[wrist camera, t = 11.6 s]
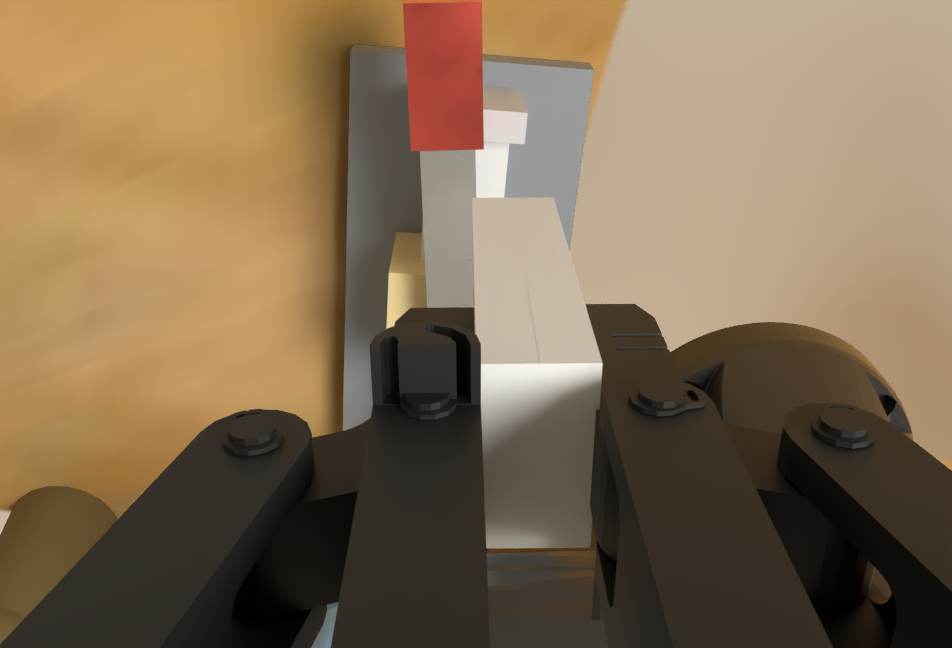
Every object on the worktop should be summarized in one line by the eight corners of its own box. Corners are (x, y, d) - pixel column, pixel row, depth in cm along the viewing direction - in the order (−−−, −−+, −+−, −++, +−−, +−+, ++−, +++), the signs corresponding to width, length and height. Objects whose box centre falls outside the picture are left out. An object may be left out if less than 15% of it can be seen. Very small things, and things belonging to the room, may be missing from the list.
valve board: (537, 453, 48) (546, 527, 42) (345, 441, 47) (330, 515, 42) (589, 63, 39) (610, 94, 34) (354, 43, 38) (336, 72, 33)
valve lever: (424, 357, 38) (422, 376, 37) (405, -3, 32) (403, 3, 30) (486, 355, 38) (487, 374, 37) (480, -5, 32) (481, 1, 30)
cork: (-13, 531, 50) (-131, 694, 40) (52, 466, 48) (-55, 620, 38) (80, 591, 52) (-10, 761, 42) (145, 531, 50) (67, 694, 40)
